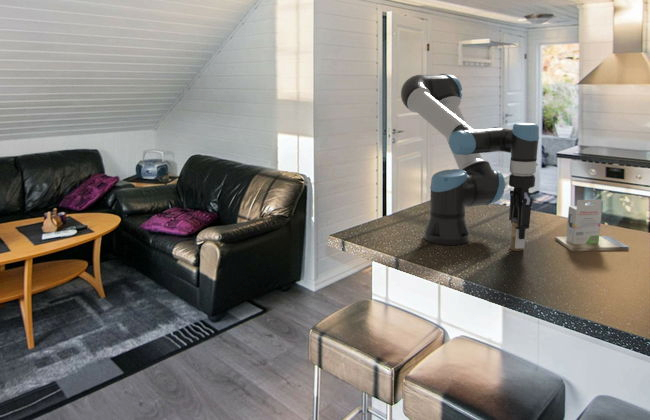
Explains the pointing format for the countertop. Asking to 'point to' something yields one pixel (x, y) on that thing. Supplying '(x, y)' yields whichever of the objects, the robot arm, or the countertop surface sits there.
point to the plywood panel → (603, 244)
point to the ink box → (584, 222)
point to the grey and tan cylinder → (514, 234)
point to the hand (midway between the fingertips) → (517, 245)
